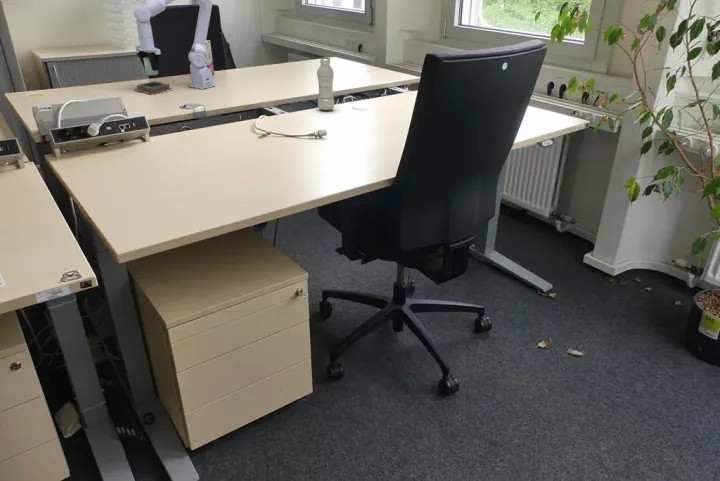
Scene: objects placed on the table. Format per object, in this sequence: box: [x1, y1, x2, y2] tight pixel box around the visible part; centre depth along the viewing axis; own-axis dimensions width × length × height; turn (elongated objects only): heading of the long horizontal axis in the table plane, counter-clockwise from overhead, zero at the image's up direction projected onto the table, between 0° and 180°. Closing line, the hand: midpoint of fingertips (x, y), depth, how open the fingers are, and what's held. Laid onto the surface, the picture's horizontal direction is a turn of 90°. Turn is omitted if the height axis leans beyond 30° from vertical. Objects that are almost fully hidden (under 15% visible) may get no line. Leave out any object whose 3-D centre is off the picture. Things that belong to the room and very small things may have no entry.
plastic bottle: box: [316, 57, 335, 112], centre depth 213 cm, size 6×7×20 cm
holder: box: [133, 80, 174, 95], centre depth 242 cm, size 12×12×3 cm
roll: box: [143, 57, 159, 76], centre depth 238 cm, size 5×5×7 cm
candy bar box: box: [205, 39, 215, 77], centre depth 265 cm, size 11×5×16 cm, turn 179°
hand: (151, 69), depth 239 cm, fingers closed on roll, 5 cm apart
